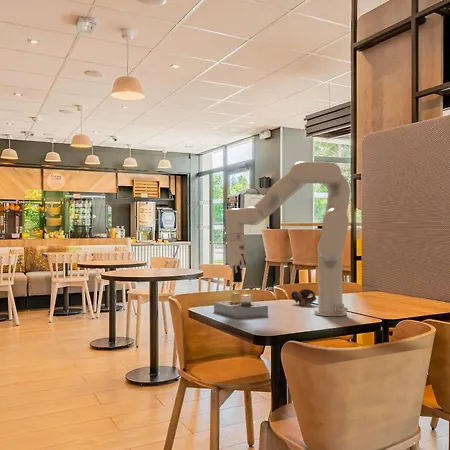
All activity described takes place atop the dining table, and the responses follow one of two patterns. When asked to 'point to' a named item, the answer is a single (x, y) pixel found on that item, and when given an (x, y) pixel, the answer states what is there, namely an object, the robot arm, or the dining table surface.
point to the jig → (241, 308)
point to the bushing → (235, 298)
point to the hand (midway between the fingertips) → (237, 282)
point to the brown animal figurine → (303, 296)
